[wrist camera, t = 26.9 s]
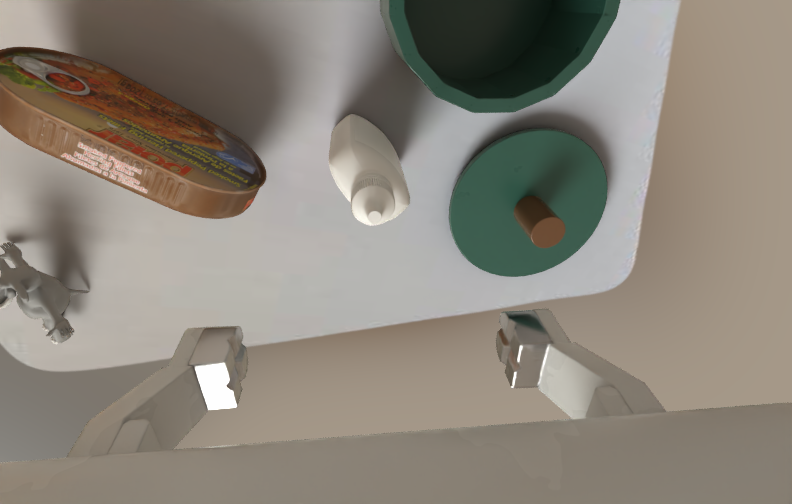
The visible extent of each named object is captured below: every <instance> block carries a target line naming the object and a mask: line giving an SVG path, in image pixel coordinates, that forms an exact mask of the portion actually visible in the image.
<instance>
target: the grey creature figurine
mask: <svg viewBox="0 0 792 504" xmlns="http://www.w3.org/2000/svg"><path fill="white" fill-rule="evenodd" d="M7 244H8V245H9V246H10V247H9V246H8V245H7ZM7 244H6V243H3V245H4V246H5V247H6V248H7V249H6V248H5V247H4V246H3V245H0V247H1V248H2V249H3V250H4V251H5V254H2V255H0V271H1V277H0V309H2V308H5V307H7V306H9V305H10V304H11V302H12V300H13V298H14V297H15V296H16V292H17V294H18V295H17V303H18V305H19V307H20V309H21V310H22V311H23V312H24V313H25V314H26V315H27V316H28V317H30V318H32V319H41V318H42V319H43V321H44V323H43V329H44V330H45V331H48V330H49V332H48V334H47V335H46V336H48V337H49V336H51V335H52V337H51V340H52V343H54V344H58V343H62V342H64V341H66V340H67V339H69V338H70V337H71V335H72V332H74V329H73V328H72V327H71V326H70V324H69V322H68V320H67V319H65V318H64V317H63V316H62V315H61V314H62V313H63V312H64V310H65V309H66V307H67V306H68V304H69V302H70V296H71V295H73V294H77V293H88V292H89V291H85V290H72V289H67V288H66V287H64V286H63V285H62V284H61V282H60V281H59V280H58V279H56V278H54V277H52V276H49V275H47V274H44V273H42V272H40V271H37V270H36V269H34V268H33V267H31V266H29V265H28V264H27V262H25V261H24V260H23V258H22V252H21V250H20V249H19V248H18V247H16V246H15V244H14V243H12V245H13V246H12V245H11V243H10V242H7ZM4 259H9V260H11V261H12V262H13V264H14V265H15V267H16V268H10V267H9V266H8V264H7V263H6V262H5V260H4ZM70 329H71V330H70ZM71 331H72V332H71Z"/></svg>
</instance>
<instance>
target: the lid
mask: <svg viewBox="0 0 792 504" xmlns="http://www.w3.org/2000/svg"><path fill="white" fill-rule="evenodd" d="M606 200H607V178H606V174H605V170H604V167H603V165H602V162H601V160H600V159H599V157H598V156H597V154H596V153H595V152H594V150H593V149H592V148H591V147H590V146H589V145H587V144H586V143H585V142H584V141H582V140H581V139H579V138H577V137H576V136H574V135H572V134H570V133H567V132H564V131H561V130H556V129H549V128H535V129H527V130H522V131H518V132H515V133H512V134H509V135H507V136H505V137H503V138H501V139H499V140H497V141H495V142H494V143H492V144H490V145H489V146H487V147H486V148H485V149H484V150H482V151H481V152H480V153H479V154H478V155H477V156H476V157H475V158H474V159H473V160H472V161H471V162H470V163H469V164H468V166H467V167H466V168H465V169H464V171H463V172H462V174H461V176H460V177H459V179H458V181H457V183H456V185H455V188H454V190H453V193H452V197H451V200H450V207H449V223H450V229H451V233H452V236H453V239H454V241H455V243H456V245H457V247H458V249H459V250H460V252H461V253H462V254H463V255H464V257H465V258H466V259H467V260H468V261H470V262H471V263H472V264H473V265H475V266H476V267H478V268H480V269H482V270H484V271H486V272H489V273H492V274H496V275H500V276H511V277H518V276H527V275H532V274H536V273H539V272H542V271H545V270H548V269H550V268H552V267H554V266H556V265H558V264H560V263H562V262H563V261H565V260H566V259H568V258H569V257H571V256H572V255H573V254H574V253H575V252H576V251H578V250H579V249H580V248H581V247H582V246H583V245H584V244H585V243H586V241H587V240H588V239H589V238H590V236H591V235H592V234H593V232H594V230H595V229H596V227H597V226H598V223H599V221H600V219H601V217H602V214H603V212H604V209H605V204H606Z"/></svg>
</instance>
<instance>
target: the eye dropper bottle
mask: <svg viewBox="0 0 792 504" xmlns="http://www.w3.org/2000/svg"><path fill="white" fill-rule="evenodd" d="M329 167H330V170H331V173H332V176H333V178H334V180H335V182H336V184H337V185H338V187H339V189H340V190H341V192H342V193H343V194H344V196H345V197H346V198H347V199H348V200H349V201H350V202H351V209H352V212H353V214H354V216H355V217H356V219H358V220H359V221H360V222H361V223H363V224H367V225H374V226H375V225H379V224H382V223H384V222H386V221H390V220H392V219H394V218H395V217H397V216H398V215H399V214H400V213H402V212H403V211H404V210H405V209H406V208H407V206H408V205H409V203H410V196H409V191H408V188H407V184H406V181H405V177H404V174H403V171H402V167H401V164H400V161H399V158H398V156H397V153H396V151H395V149H394V147H393V146H392V144H391V142H390V141H389V140H388V138H387V137H386V136H385V135H384V133H383V132H382V131H381V130H379V129H378V128H377V127H376V126H375V125H373V124H372V123H371V122H369V121H367V120H366V119H364V118H362V117H360V116H357V115H355V114H350V115H348V116H346V117H345V118H344V119H343V120H342V121H341V122H340V123H339V124H338V125H337V126H336V127H335V128H334V129H333V131H332V135H331V142H330V151H329Z"/></svg>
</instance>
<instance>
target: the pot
mask: <svg viewBox="0 0 792 504" xmlns="http://www.w3.org/2000/svg"><path fill="white" fill-rule="evenodd" d="M619 4H620V0H380V12H381V16H382V18H383V21H384V24H385V27H386V30H387V33H388V35H389V37H390V40H391V43H392V45H393V48H394V50H395V52H396V53H397V54H398V55H399V56H400V57H401V58H402V59H403V61H404V62H405V63H406V64H407V65H408V66H409V67H410V68H411V69H412V71H413V72H414V73H415V74H416V75H417V76H418V77H419V78H420V79H421V81H422V82H423V83H424V84H425V85H426V86H427V87H428V88H429V90H430V91H431V92H432V93H433V94H434V95H435V96H436V97H438V98H440V99H443V100H445V101H447V102H450V103H452V104H454V105H456V106H459V107H461V108H463V109H465V110H468V111H470V112H472V113H473V112H474V113H497V112H516V111H518V110H521V109H523V108H525V107H528V106H530V105H532V104H535V103H537V102H540V101H542V100H544V99H547V98H549V97H551V96H553V95H555V94H556V93H557V92H558V91H559V90H560V89H562V88H563V87H564V86H565V85H566V84H567V83H568V82H569V81H570V80H571V79H573V78H574V77H575V76H576V75H577V74H578V73H579V72H580V71H581V70H582V69H583V68H585V67H586V66H587V65H588V64H589V63H590V62H591V60H592V59H593V57H594V55H595V53H596V52H597V50H598V48H599V47H600V45H601V43H602V41H603V40H604V38H605V36H606V35H607V33H608V31H609V29H610V28H611V26H612V24H613V22H614V21H615V19H616V16H617V13H618V8H619Z"/></svg>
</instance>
